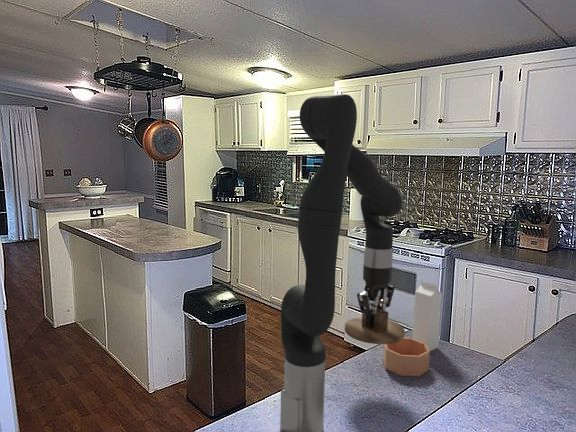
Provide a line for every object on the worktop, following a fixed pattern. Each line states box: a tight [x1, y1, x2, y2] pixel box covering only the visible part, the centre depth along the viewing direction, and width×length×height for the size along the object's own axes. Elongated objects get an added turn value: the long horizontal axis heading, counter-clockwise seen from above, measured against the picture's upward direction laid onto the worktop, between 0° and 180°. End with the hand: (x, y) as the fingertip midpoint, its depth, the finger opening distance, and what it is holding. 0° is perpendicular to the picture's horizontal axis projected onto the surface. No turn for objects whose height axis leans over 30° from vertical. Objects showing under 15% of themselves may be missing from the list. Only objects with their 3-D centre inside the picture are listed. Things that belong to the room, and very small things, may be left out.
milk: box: [412, 280, 443, 352], centre depth 140 cm, size 6×6×22 cm
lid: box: [344, 305, 406, 345], centre depth 116 cm, size 16×16×6 cm
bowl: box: [382, 337, 431, 377], centre depth 129 cm, size 13×13×6 cm
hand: (374, 324), depth 116 cm, fingers closed on lid, 3 cm apart
